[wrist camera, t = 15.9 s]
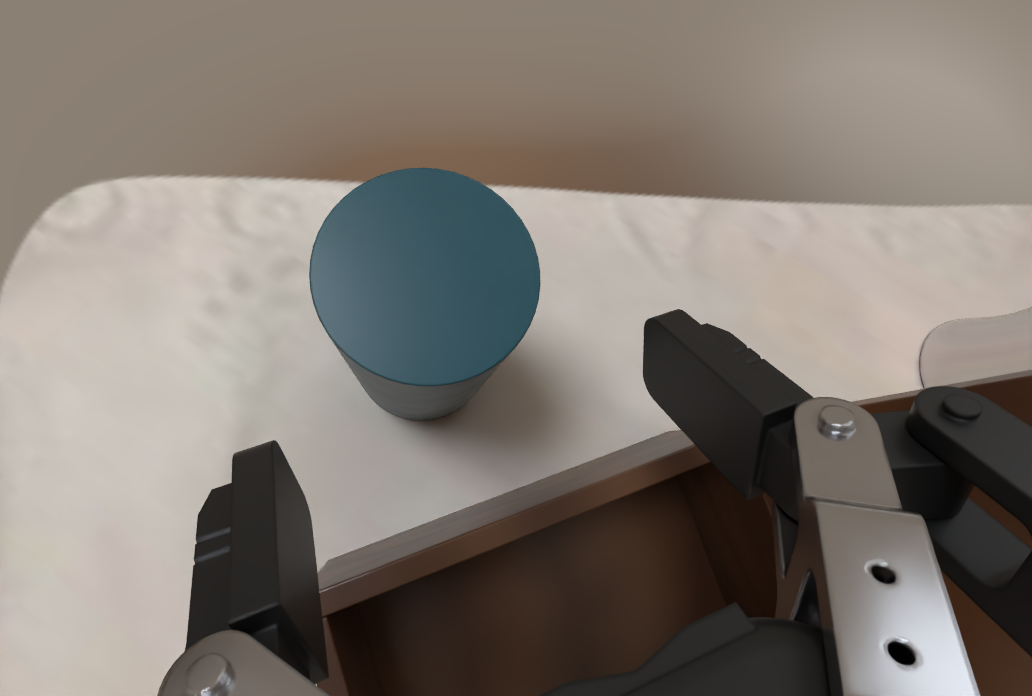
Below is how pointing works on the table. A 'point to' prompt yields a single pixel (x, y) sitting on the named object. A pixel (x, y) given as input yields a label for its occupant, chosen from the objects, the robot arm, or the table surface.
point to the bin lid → (992, 652)
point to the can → (424, 287)
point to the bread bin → (549, 579)
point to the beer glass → (977, 349)
